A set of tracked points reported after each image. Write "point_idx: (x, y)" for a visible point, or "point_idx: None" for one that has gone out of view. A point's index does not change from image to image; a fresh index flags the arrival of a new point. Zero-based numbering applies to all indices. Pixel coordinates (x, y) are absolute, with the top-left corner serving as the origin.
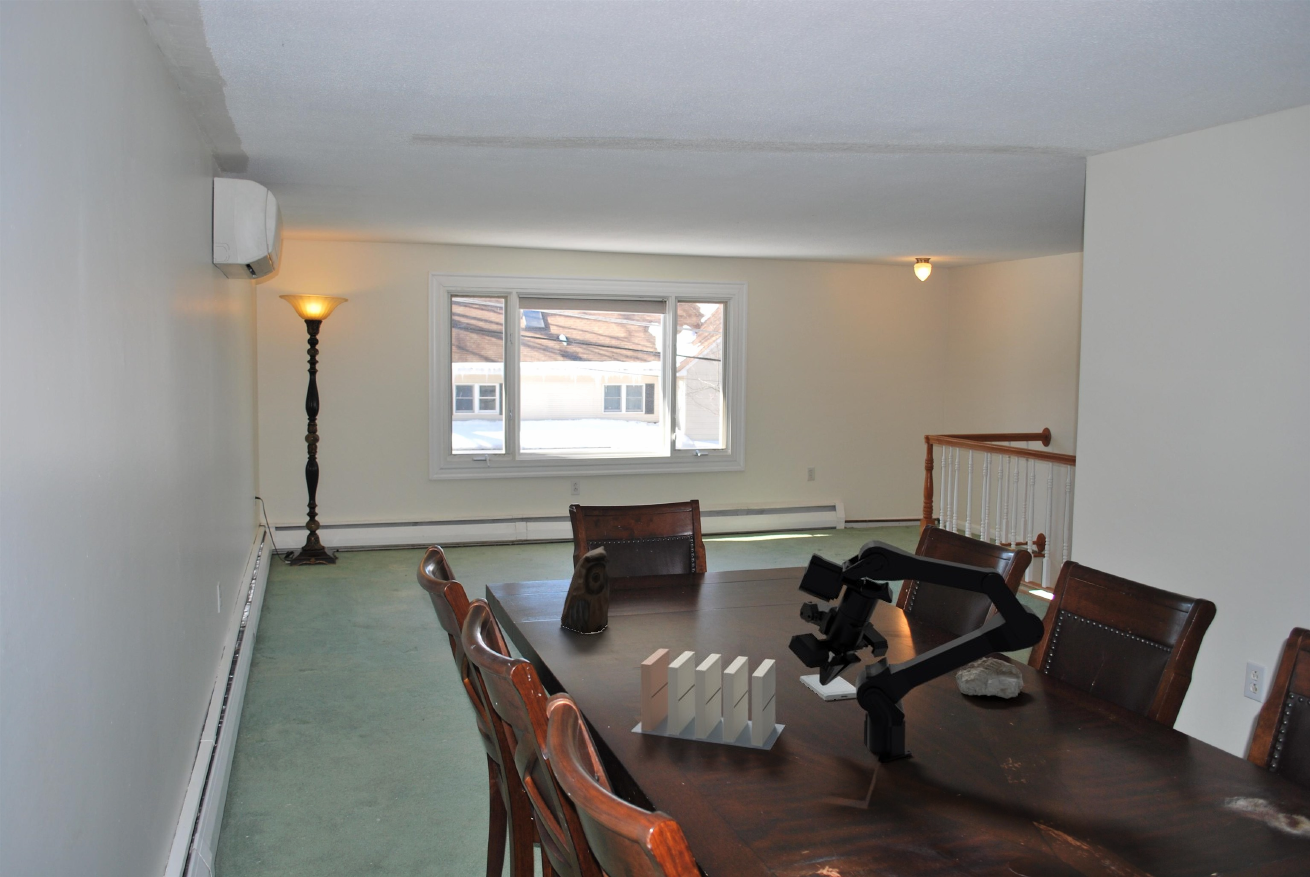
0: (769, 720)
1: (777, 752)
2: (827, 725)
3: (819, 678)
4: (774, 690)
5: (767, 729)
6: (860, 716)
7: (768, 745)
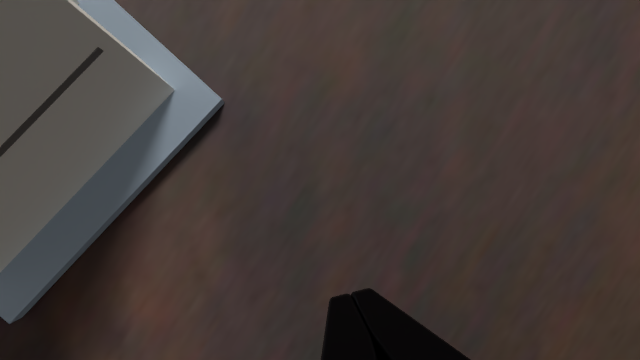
0: (58, 172)
1: (65, 306)
2: (411, 132)
3: (327, 322)
4: (77, 50)
5: (46, 203)
6: (587, 101)
7: (28, 277)
